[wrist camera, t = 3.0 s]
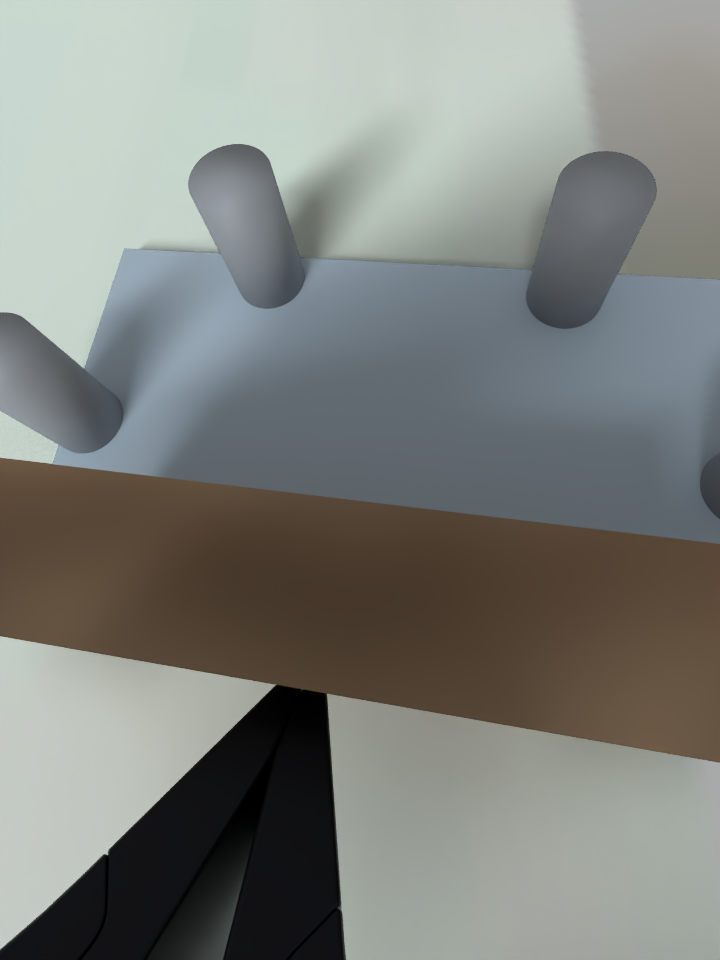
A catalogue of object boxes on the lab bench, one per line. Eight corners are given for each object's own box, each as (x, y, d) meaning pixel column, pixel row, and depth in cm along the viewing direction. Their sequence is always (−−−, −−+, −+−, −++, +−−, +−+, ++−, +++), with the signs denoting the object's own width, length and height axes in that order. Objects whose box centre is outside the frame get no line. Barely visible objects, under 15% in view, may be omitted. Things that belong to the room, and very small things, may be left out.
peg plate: (786, 605, 15) (955, 581, 10) (40, 505, 18) (-92, 453, 14) (764, 289, 18) (887, 157, 13) (124, 254, 21) (38, 140, 17)
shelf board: (653, 739, 14) (902, 794, 7) (97, 643, 17) (-162, 607, 9) (650, 622, 15) (866, 561, 8) (126, 548, 18) (-86, 447, 10)
